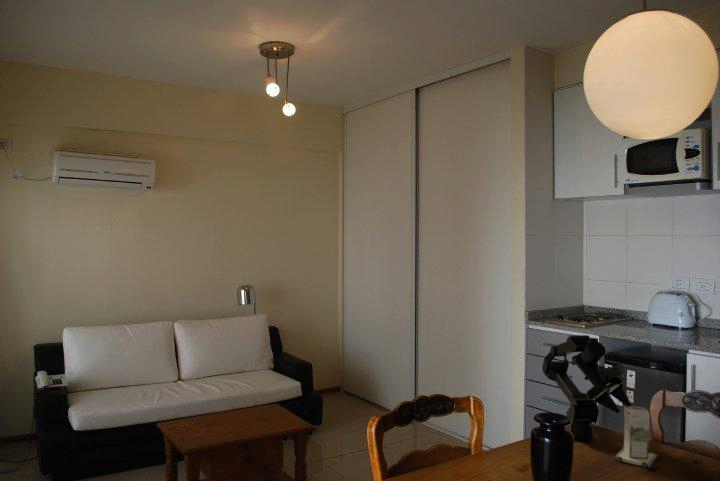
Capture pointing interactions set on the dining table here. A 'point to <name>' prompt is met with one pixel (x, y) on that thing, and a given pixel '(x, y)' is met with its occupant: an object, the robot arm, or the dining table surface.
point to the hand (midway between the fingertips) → (624, 409)
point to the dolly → (636, 459)
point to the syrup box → (636, 432)
